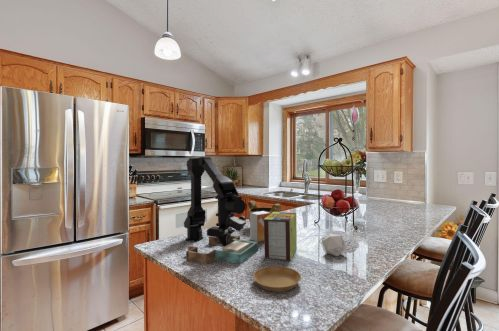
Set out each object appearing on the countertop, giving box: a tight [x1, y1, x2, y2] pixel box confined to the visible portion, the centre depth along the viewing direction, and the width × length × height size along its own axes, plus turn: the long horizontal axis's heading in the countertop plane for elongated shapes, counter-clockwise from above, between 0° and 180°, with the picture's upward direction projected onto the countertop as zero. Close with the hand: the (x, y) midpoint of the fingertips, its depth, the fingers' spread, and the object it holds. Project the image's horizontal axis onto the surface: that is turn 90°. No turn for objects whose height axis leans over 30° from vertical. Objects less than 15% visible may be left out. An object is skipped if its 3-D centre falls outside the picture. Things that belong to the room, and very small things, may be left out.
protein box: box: [263, 211, 298, 262], centre depth 108 cm, size 10×15×16 cm
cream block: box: [221, 241, 250, 253], centre depth 108 cm, size 7×10×4 cm
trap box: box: [185, 234, 259, 265], centre depth 109 cm, size 24×26×4 cm
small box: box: [249, 211, 271, 243], centre depth 127 cm, size 8×6×13 cm
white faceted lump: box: [321, 232, 347, 257], centre depth 106 cm, size 8×9×10 cm
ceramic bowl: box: [247, 200, 282, 223], centre depth 147 cm, size 22×17×15 cm
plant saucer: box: [252, 265, 302, 293], centre depth 82 cm, size 15×15×3 cm
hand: (225, 248), depth 109 cm, fingers closed
